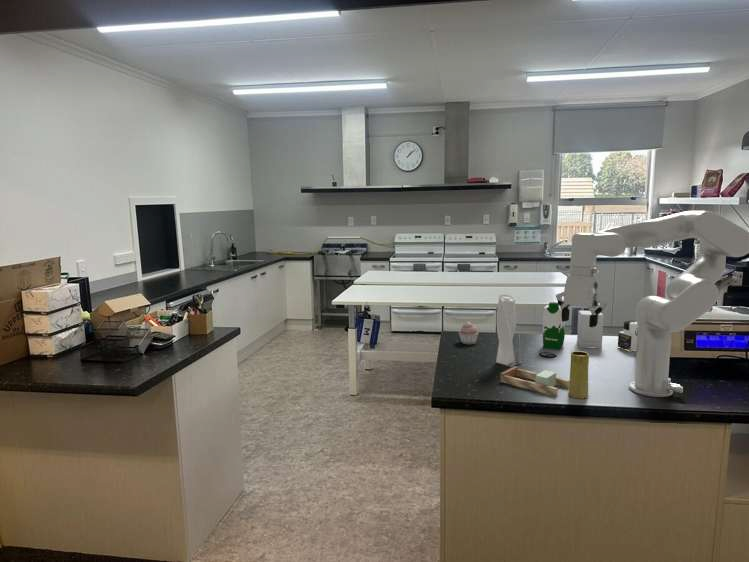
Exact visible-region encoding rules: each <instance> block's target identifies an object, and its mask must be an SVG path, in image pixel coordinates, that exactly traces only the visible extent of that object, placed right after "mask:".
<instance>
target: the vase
mask: <svg viewBox="0 0 749 562" xmlns="http://www.w3.org/2000/svg"><path fill="white" fill-rule="evenodd" d="M589 357H590V354H589V353H588V352H586V351H582V350H573V351H571V352H570V367H569V368H570V369H569V380H570V381H569V388H568V392H567V395H568V396H569V397H570V396H571V397H570V398H573V399H577V398H578V400H584V398H585V399H588V398H589V361H590V360H589V359H590V358H589ZM587 397H588V398H587Z"/></svg>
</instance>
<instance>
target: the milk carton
mask: <svg viewBox="0 0 749 562" xmlns="http://www.w3.org/2000/svg"><path fill="white" fill-rule="evenodd" d="M561 315H562V309H561V308H560V305H559V304H558V302H553V301H551V302H549V303H548V304H547V305H545V306H544V307H543V315H542V347H543V349H551V350H557V351H558V350H559V351H560V350H562V348H563V347H564V343H565V342H564V341H565V335H566V334H565V333H566V321H564V322H563V321H562V317H561ZM562 346H563V347H562Z"/></svg>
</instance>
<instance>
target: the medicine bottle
mask: <svg viewBox="0 0 749 562" xmlns="http://www.w3.org/2000/svg"><path fill="white" fill-rule="evenodd" d="M636 328H638V327H637V320H636V321H635V320H625V321H624V322H623V330H622V331H618V335H617V348H618V347H620V348H619V349H621V348H623V349H622V350H624V349H627V350H629V351H633V352H635V351H634V350H637V336H636V335H635V330H636V331H637V329H636ZM629 351H628V352H629Z"/></svg>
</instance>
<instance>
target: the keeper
mask: <svg viewBox="0 0 749 562" xmlns="http://www.w3.org/2000/svg"><path fill="white" fill-rule="evenodd" d="M556 377H557V372H554V371H551V370H546V369H544V370H542V371H541V372H540V373H539V374H537V375H536V377H535V380H534V382H535V383H539V384H543V385H547V386H551V387H555V386H556Z"/></svg>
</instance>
